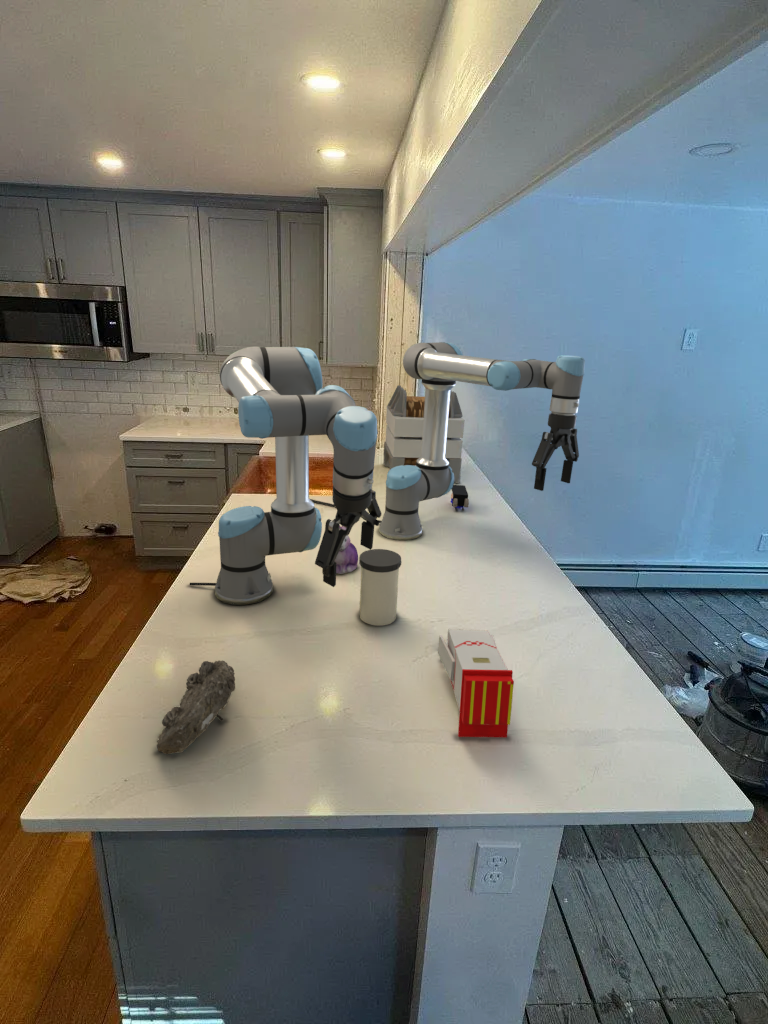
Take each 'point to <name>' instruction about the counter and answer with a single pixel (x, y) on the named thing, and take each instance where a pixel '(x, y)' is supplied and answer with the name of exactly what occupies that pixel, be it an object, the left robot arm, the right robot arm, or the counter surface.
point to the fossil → (197, 706)
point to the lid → (380, 560)
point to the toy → (478, 682)
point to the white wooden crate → (419, 431)
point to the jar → (378, 597)
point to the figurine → (346, 556)
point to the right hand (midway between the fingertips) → (552, 485)
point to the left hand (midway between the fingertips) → (348, 564)
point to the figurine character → (459, 497)
